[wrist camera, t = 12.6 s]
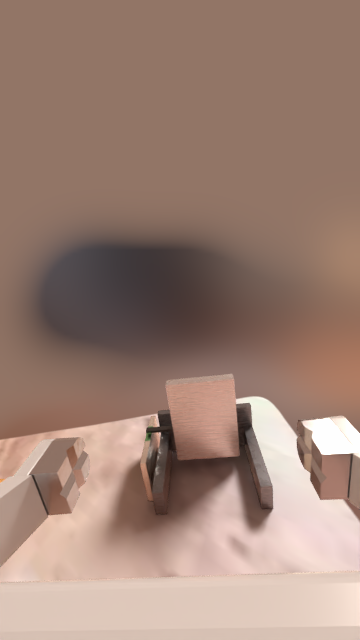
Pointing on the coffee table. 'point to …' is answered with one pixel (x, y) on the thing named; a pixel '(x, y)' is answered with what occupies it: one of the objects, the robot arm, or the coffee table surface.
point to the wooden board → (202, 417)
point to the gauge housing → (160, 449)
